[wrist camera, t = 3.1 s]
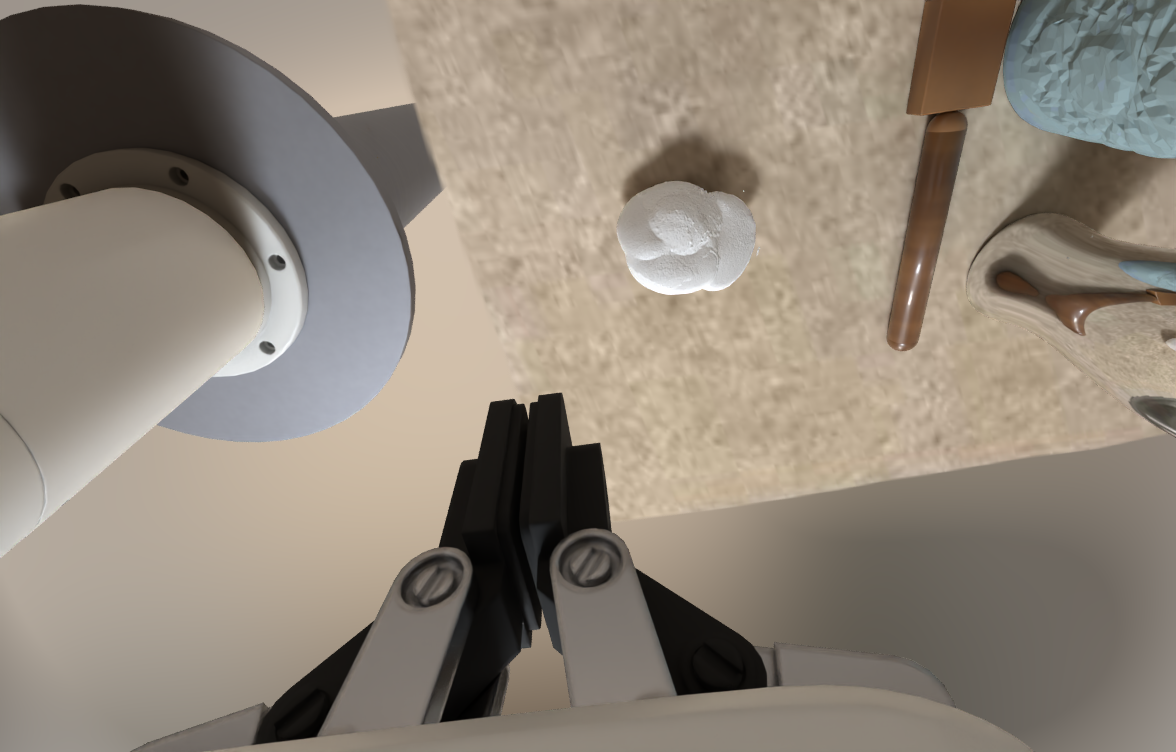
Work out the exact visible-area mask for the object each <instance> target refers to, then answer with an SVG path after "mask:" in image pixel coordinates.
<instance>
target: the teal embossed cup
mask: <svg viewBox="0 0 1176 752" xmlns="http://www.w3.org/2000/svg"><path fill="white" fill-rule="evenodd" d="M1003 76H1004V86H1005V90H1006V93H1007V97H1008V99H1009V101H1010V103H1011V105H1012V107H1013V109H1014V110H1015V112H1016V113H1017V114H1018V115H1019V116H1020V117H1021V118H1022V119H1023V120H1025V121H1026V122H1028V123H1029V124H1031V125H1033V126H1035V127H1037V128H1039V129H1041V130H1044V131H1048V132H1052V133H1056V134H1060V135H1064V136H1068V137H1072V138H1076V139H1080V140H1084V141H1089V142H1094V143H1101V144H1105V145H1106V146H1109V147H1112V148H1116V149H1120V150H1125V151H1134V152H1136V153H1138V154H1141V155H1145V156H1150V157H1156V158H1176V0H1023V1H1022V3H1021V5H1020V7H1019V9H1018V11H1017V14H1016V16H1015V18H1014V21H1013V24H1012V26H1011V29H1010V33H1009V36H1008V39H1007V43H1006V49H1005V55H1004V63H1003Z"/></svg>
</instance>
